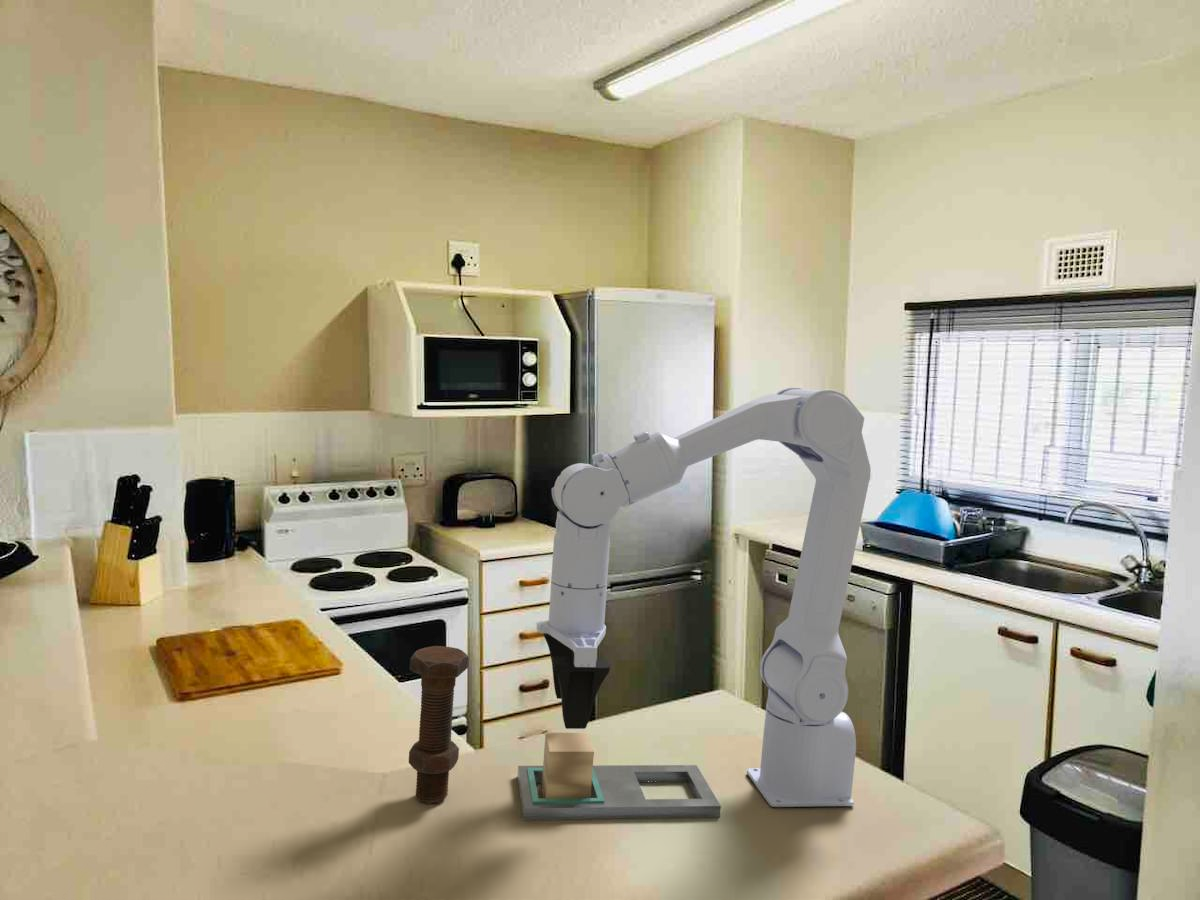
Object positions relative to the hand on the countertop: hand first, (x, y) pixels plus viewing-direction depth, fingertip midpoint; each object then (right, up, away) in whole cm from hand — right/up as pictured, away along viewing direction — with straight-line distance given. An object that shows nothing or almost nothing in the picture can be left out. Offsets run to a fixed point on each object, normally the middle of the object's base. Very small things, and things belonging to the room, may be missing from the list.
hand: (570, 711), depth 87 cm
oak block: (-1, -9, +1) cm, 9 cm away
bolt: (-14, -9, -2) cm, 16 cm away
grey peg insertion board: (+5, -9, +2) cm, 11 cm away
